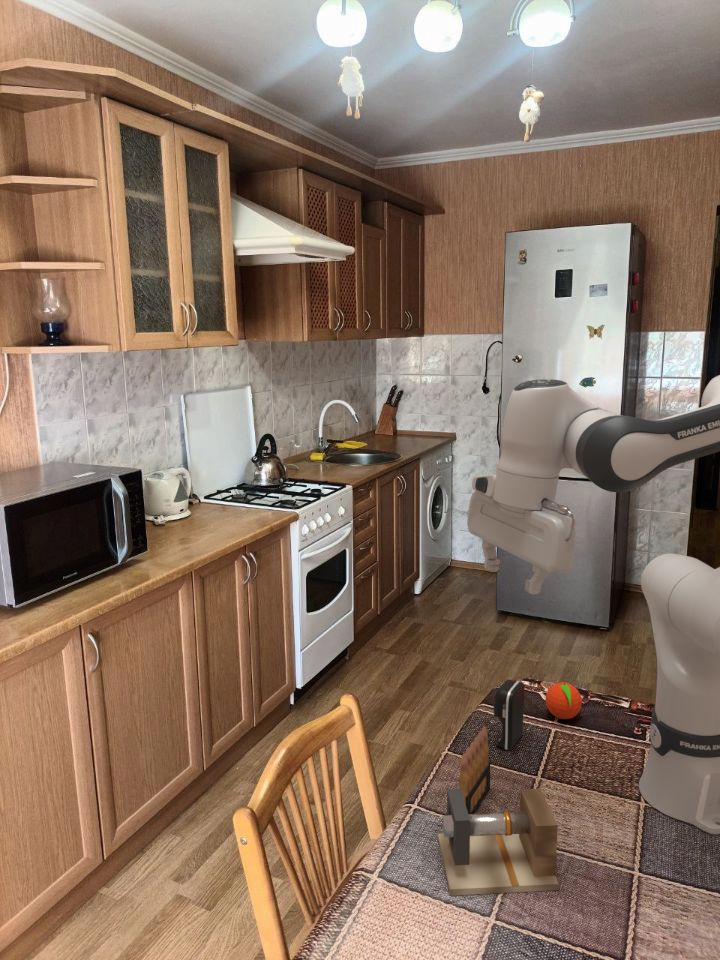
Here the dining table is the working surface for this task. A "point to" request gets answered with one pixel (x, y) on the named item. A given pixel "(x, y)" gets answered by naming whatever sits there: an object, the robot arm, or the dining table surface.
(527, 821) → the steel pipe
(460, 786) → the ammunition clip
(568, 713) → the clementine
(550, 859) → the pipe stand
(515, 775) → the dining table surface
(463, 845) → the collar
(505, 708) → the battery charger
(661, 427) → the robot arm
